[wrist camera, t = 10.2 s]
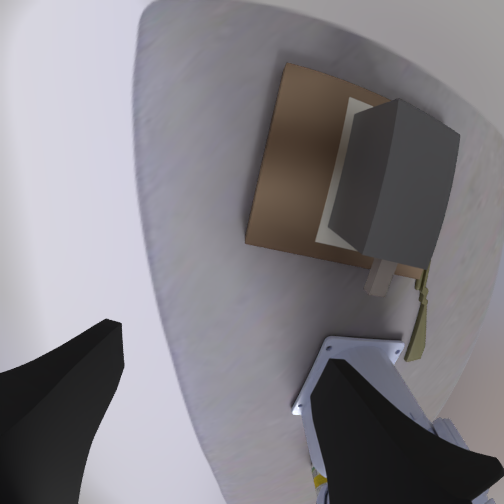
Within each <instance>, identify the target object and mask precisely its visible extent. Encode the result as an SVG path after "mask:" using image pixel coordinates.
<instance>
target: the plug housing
mask: <svg viewBox="0 0 504 504" xmlns="http://www.w3.org/2000/svg"><path fill="white" fill-rule="evenodd" d="M459 142H460V134H458V133H457V132H455V131H454V130H452V129H451V128H449V127H448V126H446V125H445V124H443V123H442V122H440V121H438V120H437V119H435V118H433V117H432V116H430V115H428V114H427V113H425V112H423V111H421V110H420V109H418V108H416V107H414V106H412V105H411V104H409V103H407V102H405V101H403V100H401V99H399V98H398V99H395V100H392V101H389V102H386V103H383V104H380V105H378V106H375V107H372V108H369V109H366V110H364V111H361V112H358V113H356V114H354V118H353V123H352V128H351V133H350V138H349V142H348V147H347V152H346V156H345V160H344V165H343V169H342V173H341V177H340V181H339V185H338V189H337V193H336V197H335V201H334V205H333V209H332V212H331V216H330V220H329V223H328V228H330V229H331V230H332V231H333V232H335V233H336V234H337V235H338V236H340V237H341V238H342V239H343V240H345V241H346V242H347V243H348V244H350V245H351V246H352V247H353V248H355V249H356V250H357V251H358V252H359V253H361V254H362V255H365V256H370V257H374V261H373V264H372V266H371V269H370V272H369V275H368V278H367V280H366V283H365V286H364V288H363V289H364V290H365V291H366V292H367V293H368V294H369V295H373V296H380V297H385V295H386V293H387V291H388V288H389V286H390V283H391V280H392V278H393V275H394V273H395V270H396V267H397V264H398V263H400V264H404V265H408V266H412V267H416V268H420V269H424V270H427V269H428V266H429V263H430V261H431V258H432V255H433V252H434V249H435V246H436V243H437V240H438V237H439V233H440V230H441V227H442V223H443V220H444V216H445V212H446V209H447V205H448V201H449V196H450V192H451V188H452V183H453V178H454V173H455V167H456V162H457V156H458V149H459Z"/></svg>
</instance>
